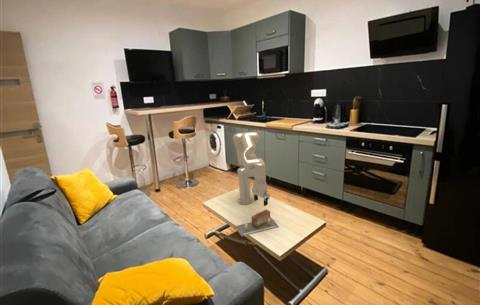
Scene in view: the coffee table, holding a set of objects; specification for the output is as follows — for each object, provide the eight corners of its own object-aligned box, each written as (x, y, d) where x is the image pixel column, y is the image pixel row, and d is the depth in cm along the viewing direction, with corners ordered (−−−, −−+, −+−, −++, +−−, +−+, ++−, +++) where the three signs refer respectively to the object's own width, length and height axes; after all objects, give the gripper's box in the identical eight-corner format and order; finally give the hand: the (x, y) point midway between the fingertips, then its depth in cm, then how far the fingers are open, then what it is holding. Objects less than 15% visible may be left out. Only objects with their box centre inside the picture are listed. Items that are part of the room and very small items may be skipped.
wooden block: (252, 226, 168) (251, 216, 165) (266, 218, 176) (266, 209, 174) (255, 228, 165) (255, 218, 162) (270, 221, 173) (270, 211, 171)
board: (235, 227, 169) (234, 219, 168) (271, 219, 178) (271, 211, 176) (241, 238, 157) (241, 229, 156) (279, 228, 166) (279, 220, 164)
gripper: (247, 177, 165) (248, 200, 170) (265, 185, 152) (265, 209, 157) (255, 175, 170) (256, 196, 174) (273, 181, 156) (273, 205, 161)
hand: (260, 202), depth 165 cm, fingers open, 9 cm apart
